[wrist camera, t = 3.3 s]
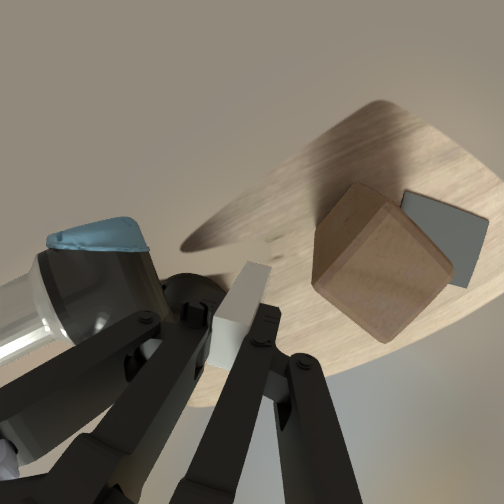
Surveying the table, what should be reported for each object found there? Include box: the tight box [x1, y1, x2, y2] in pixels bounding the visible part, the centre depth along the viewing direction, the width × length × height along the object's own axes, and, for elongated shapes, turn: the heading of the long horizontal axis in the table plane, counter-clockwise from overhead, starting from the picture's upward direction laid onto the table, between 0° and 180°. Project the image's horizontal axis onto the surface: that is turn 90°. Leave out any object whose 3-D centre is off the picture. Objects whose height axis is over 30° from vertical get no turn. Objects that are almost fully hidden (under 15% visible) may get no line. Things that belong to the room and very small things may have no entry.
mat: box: [401, 191, 489, 288], centre depth 38 cm, size 17×12×1 cm
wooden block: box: [311, 182, 455, 344], centre depth 31 cm, size 10×10×20 cm
